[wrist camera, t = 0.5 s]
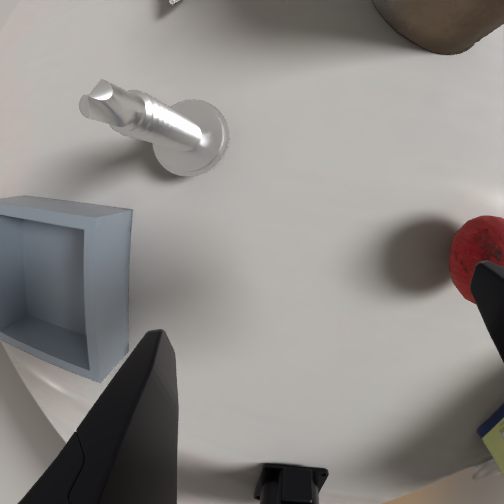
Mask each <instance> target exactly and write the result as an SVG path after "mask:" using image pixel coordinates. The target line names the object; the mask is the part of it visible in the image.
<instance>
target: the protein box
mask: <svg viewBox="0 0 504 504" xmlns="http://www.w3.org/2000/svg"><path fill="white" fill-rule="evenodd" d="M477 433H478V434H479V436H480V437H481V439H482V441H483V442H484V444H485V445H486V447H487V449H488V450H489V452H490V453H491V455H492V457H493V458H494V460H495V462H496V463H497V465H498V467H499V468H500V470H501V472H502V474H503V475H504V404H503V405H502V406H501V407H500V408H499V409H498V410H497V411H496V412H495V413H494V414H493V415H492V416H491V417H490V418H489V419H488V420H487V421H486V422H485V423H484V424H483V425H482V426H481V427H479V429H478V430H477Z"/></svg>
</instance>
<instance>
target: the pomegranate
mask: <svg viewBox="0 0 504 504" xmlns="http://www.w3.org/2000/svg"><path fill="white" fill-rule="evenodd" d="M482 261H491V262H493V263H495V264H497V265H500V266H502V267H504V219H503V218H501V217H494V216H480V217H477V218H474V219H472V220H469V221H467V222H466V223H465V224H464V225H463V226H462V228H461V229H460V230H459V231H458V232H457V233H456V234H455V236H454V239H453V242H452V244H451V247H450V261H449V269H450V273H451V277H452V281H453V283H454V285H455V286H456V288H457V289H458V290H459V292H460V293H461V294H462V295H463V297H464V298H465V299H467V300H469V301H471V302H472V303H474V304H476V302H475V300H474V298H473V296H472V294H471V291H470V283H471V279H472V276H473V272H474V269H475V266H476V264H477V263H479V262H482ZM476 305H477V304H476Z"/></svg>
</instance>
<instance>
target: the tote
mask: <svg viewBox="0 0 504 504" xmlns="http://www.w3.org/2000/svg"><path fill="white" fill-rule="evenodd" d="M132 212H133V210H132V209H125V208H117V207H110V206H102V205H95V204H87V203H80V202H72V201H64V200H56V199H48V198H40V197H31V196H17V197H9V198H2V199H0V339H1V340H2V341H4V342H6V343H8V344H10V345H12V346H14V347H16V348H18V349H20V350H22V351H24V352H27V353H29V354H31V355H33V356H35V357H37V358H39V359H42V360H44V361H46V362H48V363H51V364H53V365H55V366H58V367H60V368H63V369H65V370H67V371H70V372H72V373H75V374H78V375H80V376H83V377H85V378H88V379H91V380H93V381H96V382H99V383H101V382H102V381H103V380H104V379H105V377H106V376H107V375H108V374H109V373H110V372H111V371H112V369H113V368H114V367H115V366H116V365H117V364H118V363H119V361H120V360H121V359H122V358H123V357H124V356H125V355H126V353H127V352H128V351H129V350H128V280H129V256H130V239H131V225H132Z"/></svg>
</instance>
